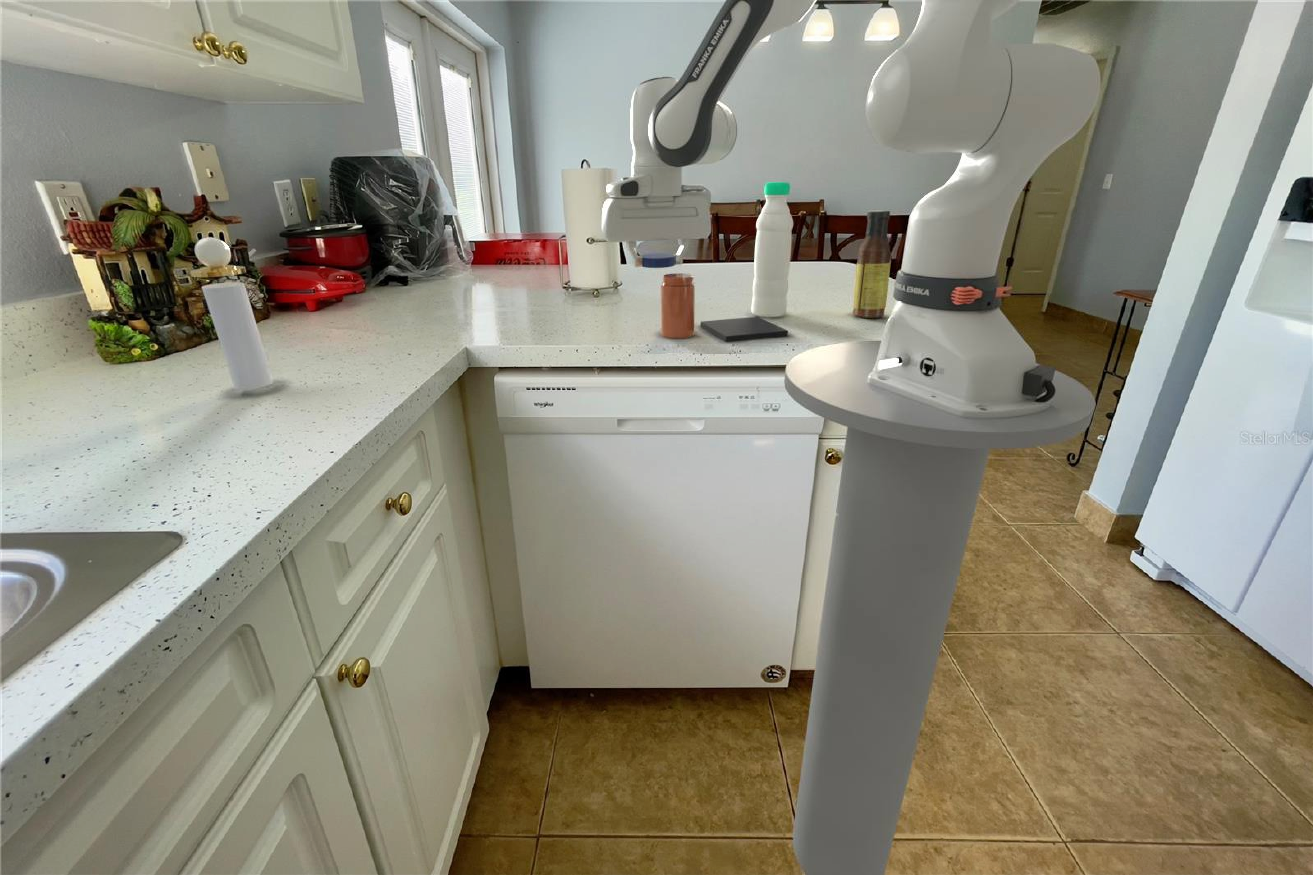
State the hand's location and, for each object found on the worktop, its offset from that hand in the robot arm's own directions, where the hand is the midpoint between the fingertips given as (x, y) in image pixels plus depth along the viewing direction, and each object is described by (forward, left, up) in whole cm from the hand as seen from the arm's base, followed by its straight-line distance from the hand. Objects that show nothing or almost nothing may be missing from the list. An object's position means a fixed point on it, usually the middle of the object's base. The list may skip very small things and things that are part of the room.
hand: (657, 265), depth 109 cm
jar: (-9, -1, -11) cm, 14 cm away
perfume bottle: (-18, +64, -11) cm, 68 cm away
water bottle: (0, -24, -11) cm, 26 cm away
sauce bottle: (-8, -42, -11) cm, 44 cm away
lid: (0, 0, +1) cm, 1 cm away
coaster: (-11, -13, -11) cm, 20 cm away
